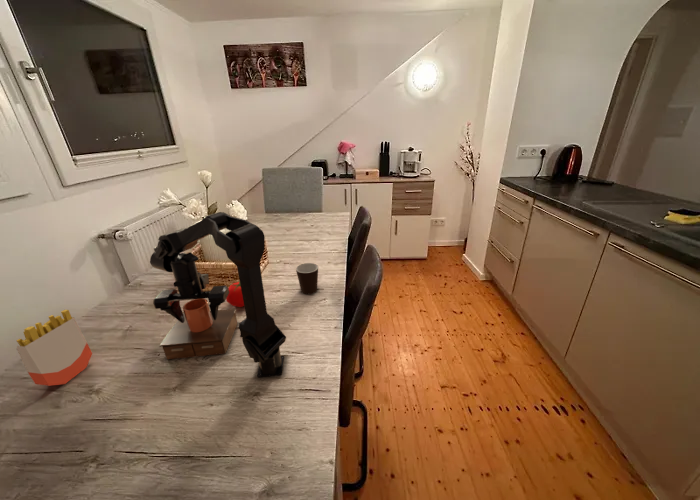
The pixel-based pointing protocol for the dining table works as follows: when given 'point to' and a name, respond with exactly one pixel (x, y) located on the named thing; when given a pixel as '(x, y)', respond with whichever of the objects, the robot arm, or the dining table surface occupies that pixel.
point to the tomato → (235, 295)
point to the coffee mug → (307, 277)
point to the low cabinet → (200, 337)
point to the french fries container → (54, 350)
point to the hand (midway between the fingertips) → (199, 320)
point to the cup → (197, 315)
